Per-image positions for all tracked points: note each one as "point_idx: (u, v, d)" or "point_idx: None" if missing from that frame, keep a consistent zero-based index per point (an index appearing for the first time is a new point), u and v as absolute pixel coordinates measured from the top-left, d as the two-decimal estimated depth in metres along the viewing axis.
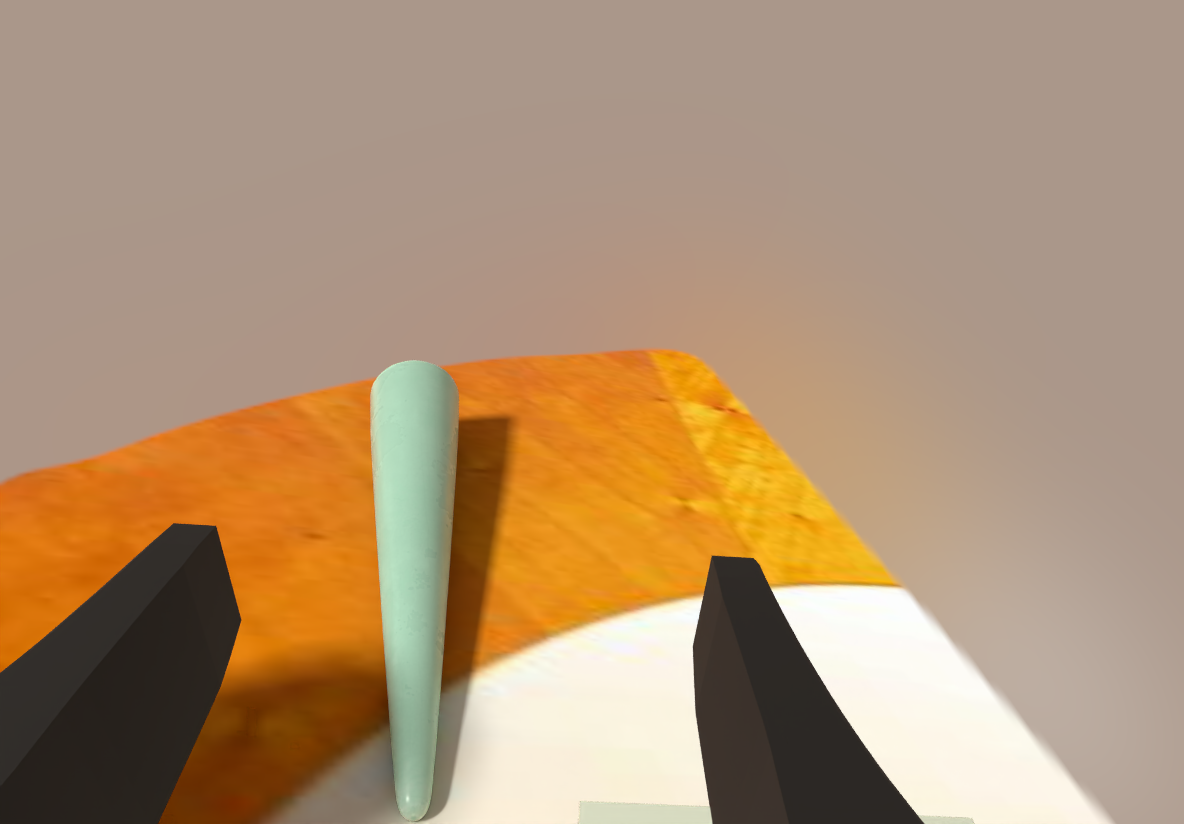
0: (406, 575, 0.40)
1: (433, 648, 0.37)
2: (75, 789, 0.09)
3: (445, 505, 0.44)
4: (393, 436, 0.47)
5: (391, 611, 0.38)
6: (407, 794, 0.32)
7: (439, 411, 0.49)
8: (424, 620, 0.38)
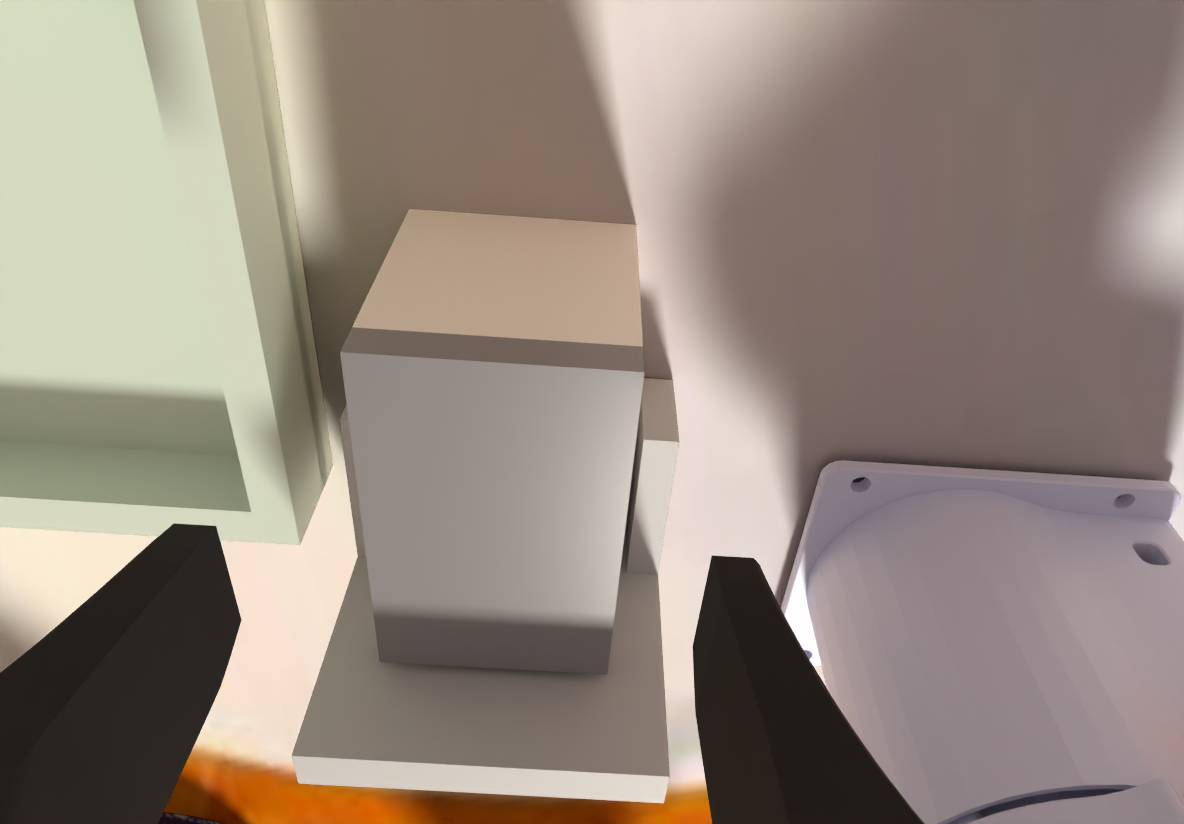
0: None
1: None
2: (75, 789, 0.09)
3: None
4: None
5: None
6: None
7: None
8: None
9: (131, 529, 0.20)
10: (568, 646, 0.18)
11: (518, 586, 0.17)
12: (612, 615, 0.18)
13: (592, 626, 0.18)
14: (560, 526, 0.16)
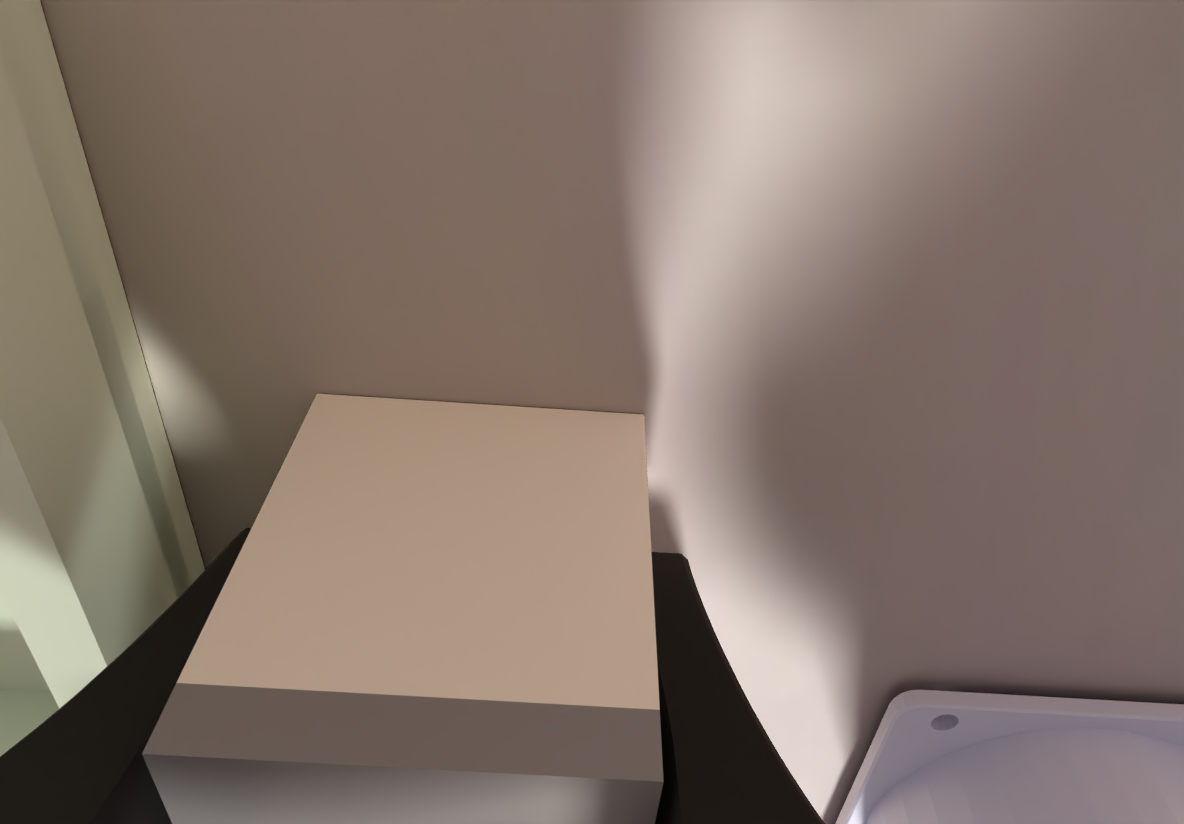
0: None
1: None
2: None
3: None
4: None
5: None
6: None
7: None
8: None
9: None
10: None
11: None
12: None
13: None
14: None
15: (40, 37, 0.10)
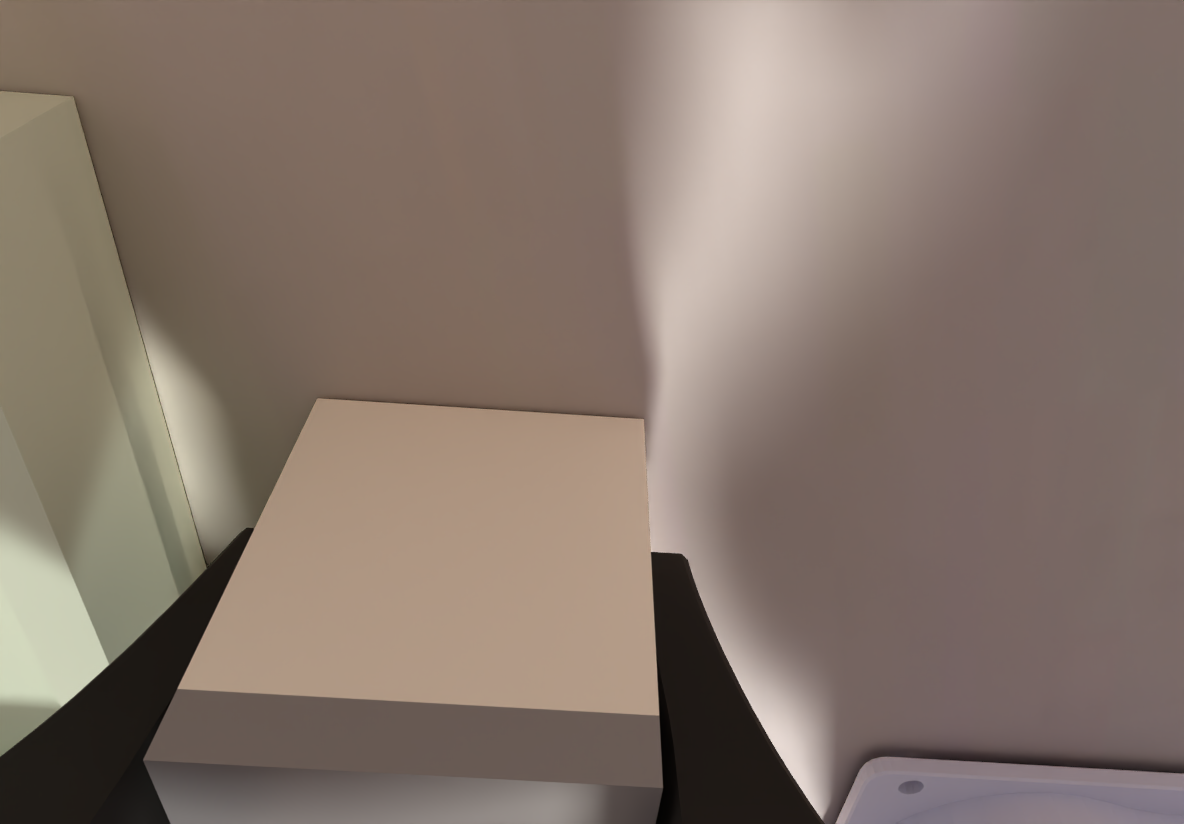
0: None
1: None
2: None
3: None
4: None
5: None
6: None
7: None
8: None
9: None
10: None
11: None
12: None
13: None
14: None
15: (99, 221, 0.11)
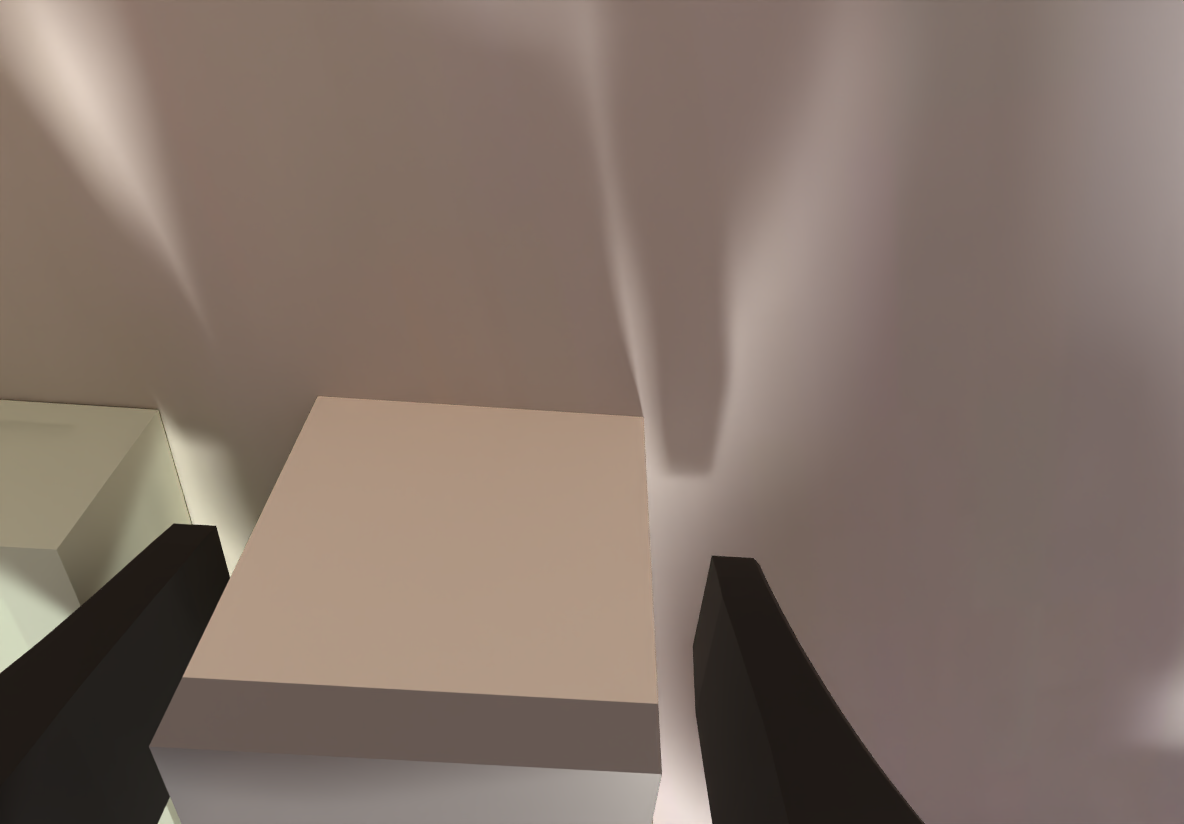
0: None
1: None
2: (75, 789, 0.09)
3: None
4: None
5: None
6: None
7: None
8: None
9: None
10: None
11: None
12: None
13: None
14: None
15: (175, 493, 0.14)
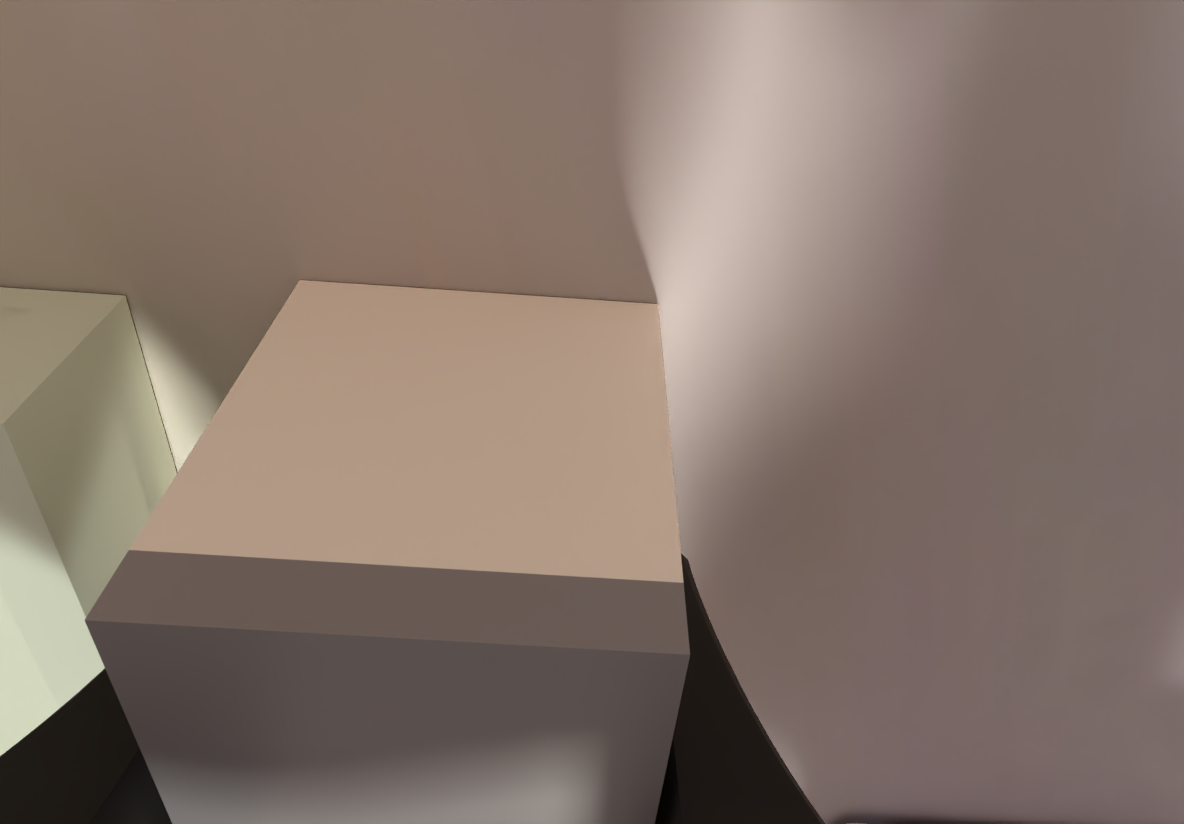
0: None
1: None
2: None
3: None
4: None
5: None
6: None
7: None
8: None
9: None
10: None
11: None
12: None
13: None
14: None
15: (146, 393, 0.13)
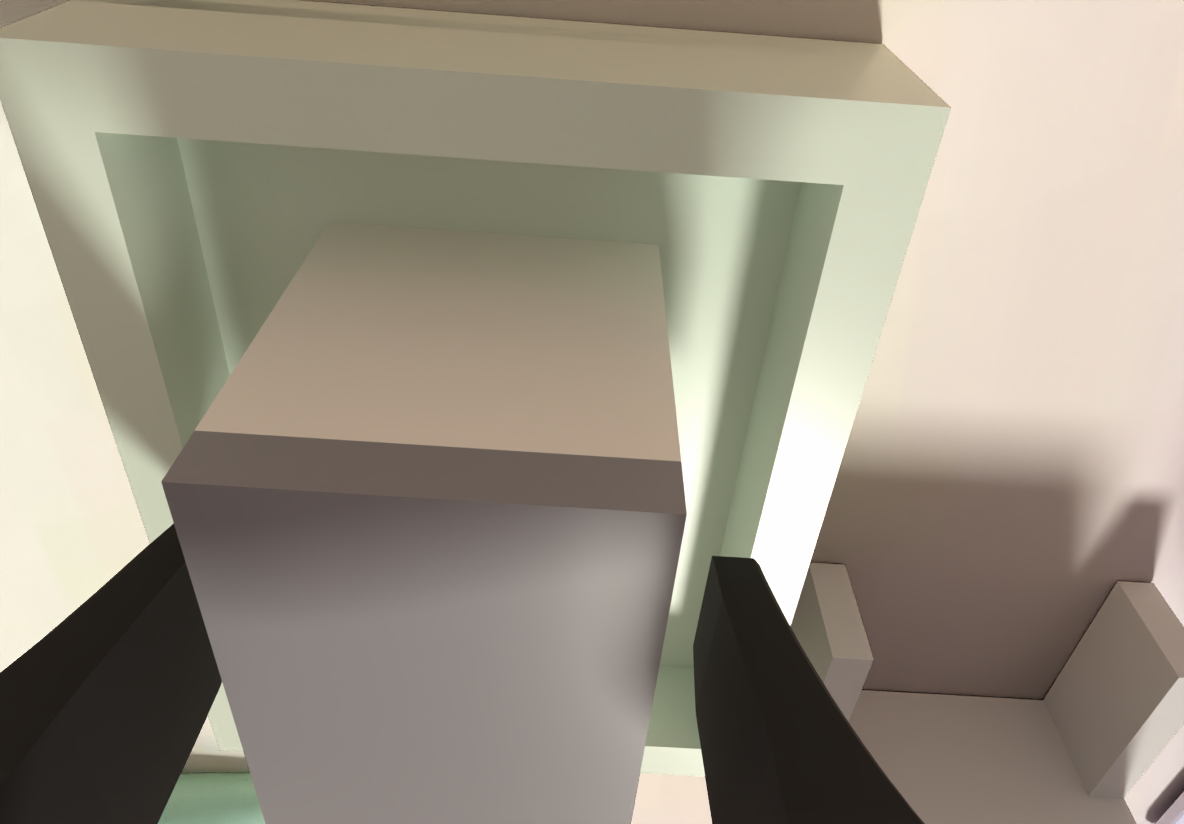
0: None
1: None
2: (75, 789, 0.09)
3: None
4: None
5: None
6: None
7: None
8: None
9: None
10: None
11: (483, 800, 0.11)
12: None
13: None
14: (546, 727, 0.10)
15: None
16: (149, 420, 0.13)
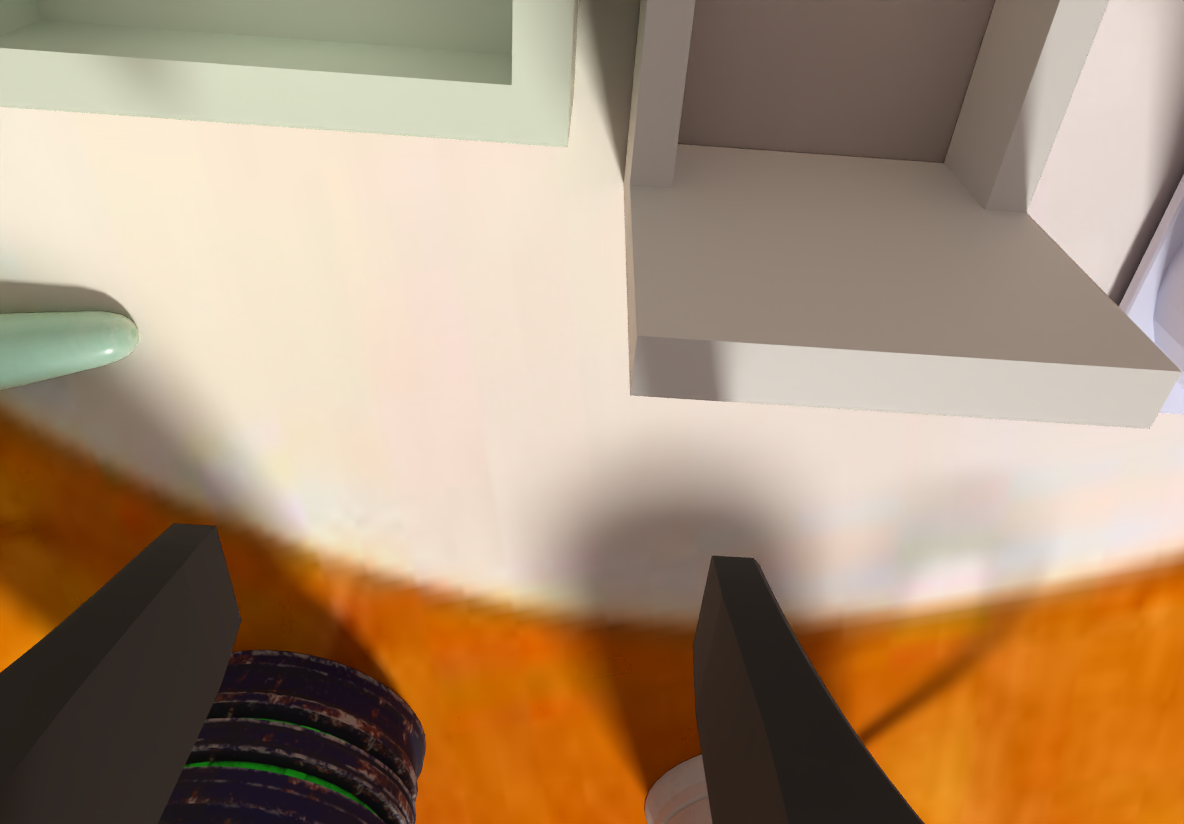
0: None
1: None
2: (75, 789, 0.09)
3: None
4: None
5: None
6: (102, 355, 0.21)
7: None
8: None
9: (341, 121, 0.15)
10: None
11: None
12: None
13: None
14: None
15: None
16: None
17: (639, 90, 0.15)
